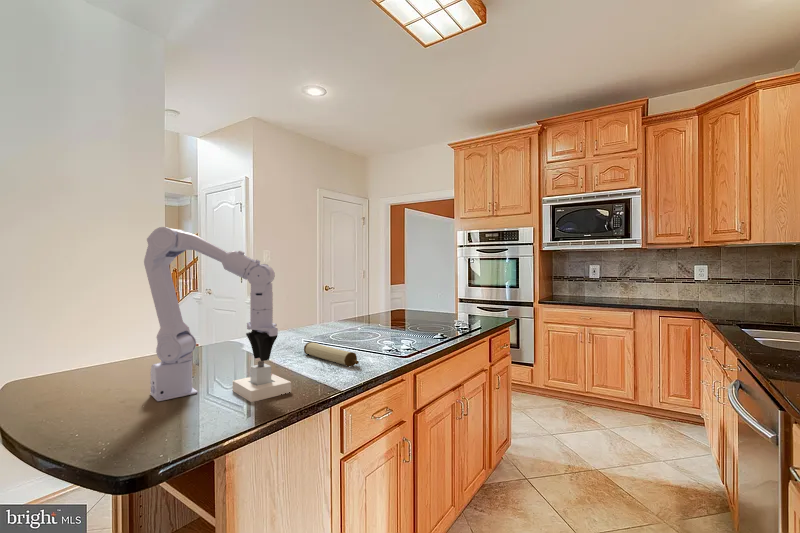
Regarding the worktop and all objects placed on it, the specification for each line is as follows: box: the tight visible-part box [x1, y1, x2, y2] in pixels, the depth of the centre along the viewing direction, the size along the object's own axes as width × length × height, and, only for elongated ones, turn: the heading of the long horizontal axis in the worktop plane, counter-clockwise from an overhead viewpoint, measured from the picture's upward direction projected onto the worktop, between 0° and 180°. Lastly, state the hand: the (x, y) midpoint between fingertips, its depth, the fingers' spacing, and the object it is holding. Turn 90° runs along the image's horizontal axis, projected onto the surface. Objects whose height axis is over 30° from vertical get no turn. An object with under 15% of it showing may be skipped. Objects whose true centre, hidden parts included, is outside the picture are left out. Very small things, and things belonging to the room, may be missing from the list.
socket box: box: [232, 372, 292, 403], centre depth 107 cm, size 11×12×3 cm
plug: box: [250, 360, 272, 386], centre depth 107 cm, size 4×4×8 cm
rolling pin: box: [303, 341, 360, 368], centre depth 142 cm, size 32×6×5 cm, turn 46°
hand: (261, 359), depth 107 cm, fingers open, 3 cm apart
